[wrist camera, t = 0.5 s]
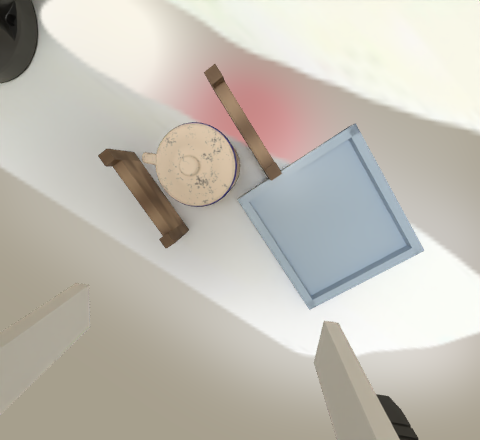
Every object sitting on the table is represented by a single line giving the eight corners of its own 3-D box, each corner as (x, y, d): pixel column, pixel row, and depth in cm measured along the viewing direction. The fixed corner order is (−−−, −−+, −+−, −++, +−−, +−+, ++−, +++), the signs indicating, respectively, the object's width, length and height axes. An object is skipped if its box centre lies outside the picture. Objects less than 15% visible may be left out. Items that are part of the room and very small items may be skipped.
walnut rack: (126, 158, 35) (97, 155, 29) (223, 84, 32) (215, 63, 25) (181, 235, 37) (165, 248, 31) (277, 172, 34) (282, 173, 27)
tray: (238, 198, 35) (237, 199, 33) (349, 126, 32) (355, 123, 30) (306, 302, 38) (309, 309, 36) (414, 246, 35) (424, 250, 33)
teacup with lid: (246, 139, 33) (240, 123, 22) (236, 202, 35) (227, 218, 24) (163, 126, 33) (115, 104, 22) (158, 189, 36) (112, 199, 24)
